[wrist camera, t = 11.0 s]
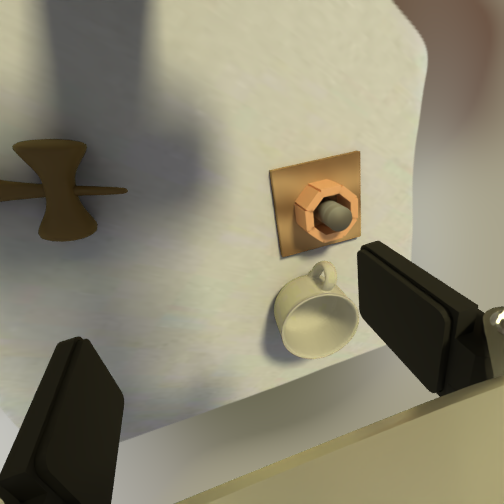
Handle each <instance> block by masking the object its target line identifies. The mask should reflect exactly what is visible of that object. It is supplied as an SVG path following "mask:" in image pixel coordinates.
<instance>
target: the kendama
mask: <svg viewBox="0 0 504 504" xmlns="http://www.w3.org/2000/svg"><path fill="white" fill-rule="evenodd" d="M12 147H13V150H14V151H15V152H16V153H17V154H18V155H19V156H20V157H21V158H22V159H23V160H24V161H25V162H26V163H27V164H28V165H29V166H30V167H31V168H32V169H33V170H34V171H35V172H36V173H37V175H38V176H39V177H40V179H41V181H42V184H34V183H22V182H13V181H4V180H0V202H2V201H10V200H19V199H29V198H42V197H46V211H45V215H44V217H43V220H42V222H41V224H40V227H39V230H38V234H39V235H40V237H41V238H42V239H45V240H50V241H61V242H63V241H74V240H78V239H83V238H85V237H88V236H90V235H92V234H93V233H94V232H95V231H97V225H98V224H97V222H96V221H95V220H94V218H93V217H92V216H91V215H90V214H89V213H88V212H87V210H86V209H85V208H84V207H83V205H82V204H81V202H80V199H79V197H78V196H83V195H111V194H124V193H127V192H128V190H127V189H126V188H119V187H98V186H76V183H75V174H76V170H77V168H78V165H79V164H80V162H81V160H82V158H83V156H84V154H85V152H86V149H87V146H86V144H84V143H82V142H79V141H72V140H62V139H41V140H28V141H22V142H18V143H16V144H15V145H13V146H12Z"/></svg>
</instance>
